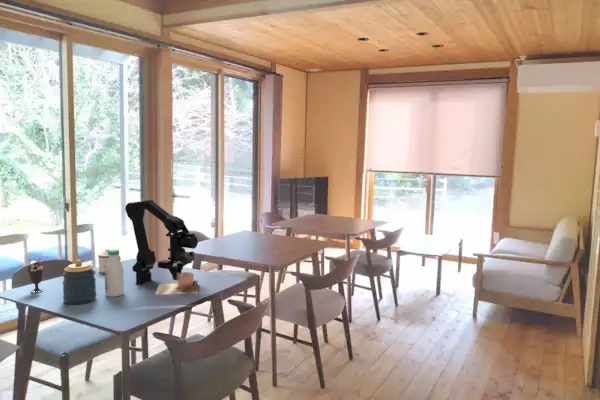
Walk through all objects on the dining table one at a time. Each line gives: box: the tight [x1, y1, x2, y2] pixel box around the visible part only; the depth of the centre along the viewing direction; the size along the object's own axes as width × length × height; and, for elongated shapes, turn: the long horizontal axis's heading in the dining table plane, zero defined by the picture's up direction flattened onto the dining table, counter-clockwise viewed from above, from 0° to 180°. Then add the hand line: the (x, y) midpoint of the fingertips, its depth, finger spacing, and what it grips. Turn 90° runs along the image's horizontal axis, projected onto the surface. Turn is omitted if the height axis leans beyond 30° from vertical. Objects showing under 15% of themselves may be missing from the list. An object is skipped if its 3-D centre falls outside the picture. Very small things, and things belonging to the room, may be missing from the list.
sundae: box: [26, 259, 45, 292], centre depth 215 cm, size 7×7×15 cm
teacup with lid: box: [97, 248, 122, 274], centre depth 252 cm, size 12×9×12 cm
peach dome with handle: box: [171, 271, 194, 290], centre depth 221 cm, size 11×7×6 cm, turn 61°
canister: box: [62, 259, 97, 306], centre depth 204 cm, size 13×13×18 cm
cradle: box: [155, 279, 199, 296], centre depth 220 cm, size 18×16×3 cm
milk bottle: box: [104, 249, 125, 298], centre depth 212 cm, size 8×8×20 cm
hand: (176, 279), depth 223 cm, fingers closed on peach dome with handle
